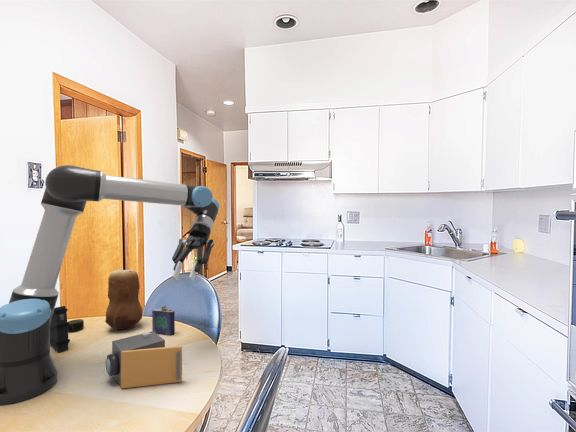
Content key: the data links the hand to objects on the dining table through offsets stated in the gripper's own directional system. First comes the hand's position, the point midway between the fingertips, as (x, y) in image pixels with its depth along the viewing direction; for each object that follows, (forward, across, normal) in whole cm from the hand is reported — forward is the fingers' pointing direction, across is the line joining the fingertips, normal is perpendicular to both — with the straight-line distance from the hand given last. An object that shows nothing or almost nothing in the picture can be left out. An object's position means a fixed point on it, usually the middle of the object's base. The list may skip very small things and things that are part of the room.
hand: (182, 278), depth 106 cm
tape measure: (+8, +56, -30) cm, 64 cm away
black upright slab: (+18, +48, -19) cm, 55 cm away
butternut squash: (+4, +36, -33) cm, 49 cm away
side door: (+32, 0, -5) cm, 32 cm away
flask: (+7, +16, -31) cm, 35 cm away
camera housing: (+29, +8, -9) cm, 31 cm away
